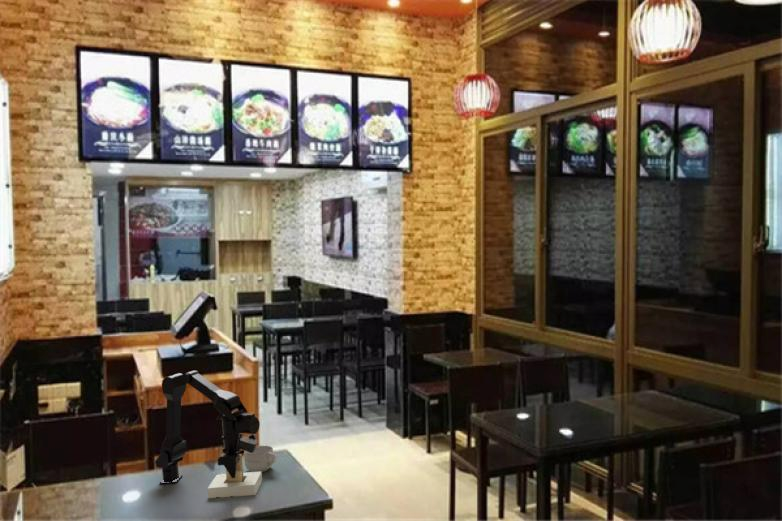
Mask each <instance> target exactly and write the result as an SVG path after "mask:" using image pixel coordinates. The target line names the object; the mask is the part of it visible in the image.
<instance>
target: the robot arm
mask: <svg viewBox="0 0 782 521" xmlns="http://www.w3.org/2000/svg"><path fill="white" fill-rule="evenodd" d="M187 385H189V387H190V386H191V387H192V388H193V389H194V390H196V391H197V392H199V393H201V395H203V396H205V397H206V398H207V399H209V400H210V401H211V402H212V404H213V407H214V408H215V409H216V410H217V411H218V412H219V415H217V416H216V420H221V425H222V426H221V427H222V436H221V441H223V448H222V453H221V455H219V457H218V458H217V459H216V460H217V466H224V468H225V470H226V469H227V471H228V473H229V474H230V476H231V477H232V478H235V475H236V463H237V462H238V461H239V460H240V458H238V454H242V456H244V452H245V451H249V452H250V453H253V452H254V451H255V449H256V446H258V445H257V444H258V442H259V441H258V438H257V437H256V434H257V433H258V431H259V429H260V425H261V422H260V421H259V419H258V417H256V414H255V413H252V412H251V413H249V412H248V409H247V408H246V407H245V405H244V404H243V402H242V401H241V399H240V396H239V395H238V394H235V393H234V392H232V391H228V390H223V389H221V388H219V387H218V386H217V385H216V384H214V383H212V382H211V381H209V380H208V379H207V378H205V376H202V375H201V374H200V373H199V371H198V370H191V371H188V372H184V374H183V373H181V372H178V373H175V374H173V375H171V374H170V375H169V376H166V377H164V378H163V379H162V381H161V389H162V390H161V391H162V395H163V396H164V397H165V399H166V420H165V422H166V426H165V427H166V428H165V432H166V433H165V434H166V435H165V438H164V441H163V442H162V445H161V447H160V448H161V449H160V454H159V456H158V457H157V459H156V460H155V461H154V463H155V466H156V468H160V469H161V473H162V479H163V480H164V482H172V481H173V480H175V479H177V478H179V475H180V473H179V469H180V468H179V462H182V461H183V460H184V456H185V453H186V452H187V440H184V439H183V438H182V437H181V429H182V428H181V422H182V416H181V415H182V398H183V396H184V394H185V392H186V389H187ZM243 434H247V435H249V436H243ZM244 450H245V451H244Z"/></svg>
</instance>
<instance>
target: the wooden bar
mask: <svg viewBox="0 0 782 521" xmlns="http://www.w3.org/2000/svg"><path fill="white" fill-rule="evenodd" d="M238 458H240V460H239V461H238V462H237V463H236V475H235V478H232V477H231V476H230V474H229V473H228V471H227V469H226V468H225V474H226V478H227V483H236V482H242V481H243V479H244V477H243V473H244V467H243V466H244V465H243V464H244V463H243V455H242V454H238Z"/></svg>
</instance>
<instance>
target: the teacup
mask: <svg viewBox="0 0 782 521" xmlns="http://www.w3.org/2000/svg"><path fill="white" fill-rule="evenodd" d="M273 450H274V447H273V446H270V445H256V449H255V451H254V452H253V453H250V452H249V451H245V450H244V451H245V452H244V453H243V457H244V458H243V459H244V466H245V468H246V469H247V470H248V471H249V472H259V471H262V473H264V472H266V471H268V470H269V469H270V468H271V467H272V466H273V464H274V463H275V462H276V459H277V457H276V454H275V453H274V451H273Z"/></svg>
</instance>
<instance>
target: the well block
mask: <svg viewBox="0 0 782 521" xmlns="http://www.w3.org/2000/svg"><path fill="white" fill-rule="evenodd" d="M243 477H244V479H243V481H242V482H236V483H227V478H226V473H221V474H220V473H219V474H216V476H215V477H214V478H213V480H212V481H211V483H210V484H209V485H208V487H207V497H208V498H207V499H216V497H220V498H231V497H230V496H233V497H244V496H246V497H247V496H255V495H257V492H258V491H259V490H260V489H259V488H260V486H261V485H262V483H263V472H262V471H259V472H251V471H248V472H243Z"/></svg>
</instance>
